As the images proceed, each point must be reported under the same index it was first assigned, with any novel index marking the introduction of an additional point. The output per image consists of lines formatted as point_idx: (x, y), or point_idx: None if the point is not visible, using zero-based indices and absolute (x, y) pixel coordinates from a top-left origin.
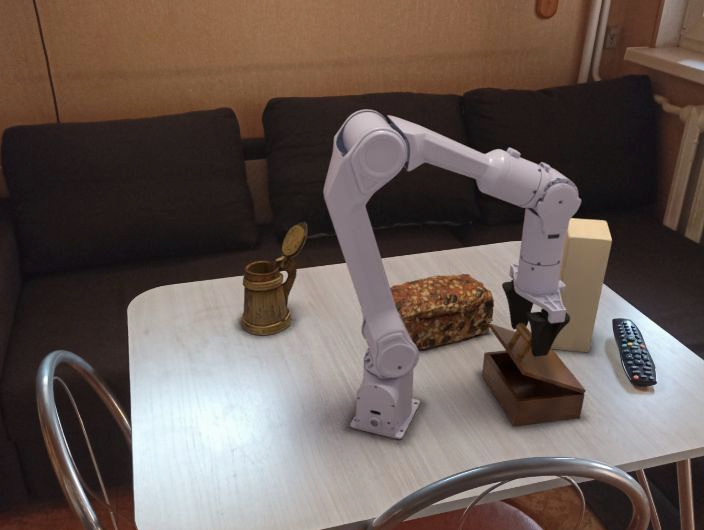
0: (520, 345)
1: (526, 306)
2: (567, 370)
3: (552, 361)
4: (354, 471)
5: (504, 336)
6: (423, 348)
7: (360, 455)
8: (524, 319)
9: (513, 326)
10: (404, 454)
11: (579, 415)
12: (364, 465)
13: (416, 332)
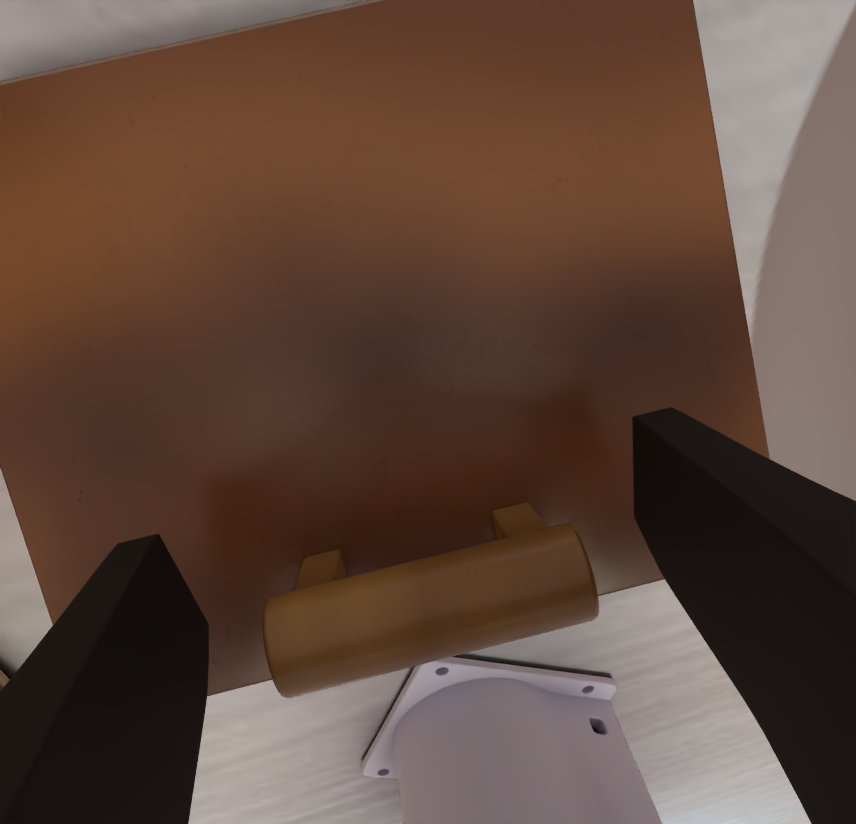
0: (296, 488)
1: (89, 811)
2: (405, 36)
3: (344, 180)
4: (709, 741)
5: (252, 628)
6: (5, 677)
7: (653, 741)
8: (145, 637)
9: (206, 653)
10: (674, 662)
11: None
12: (693, 729)
13: None
